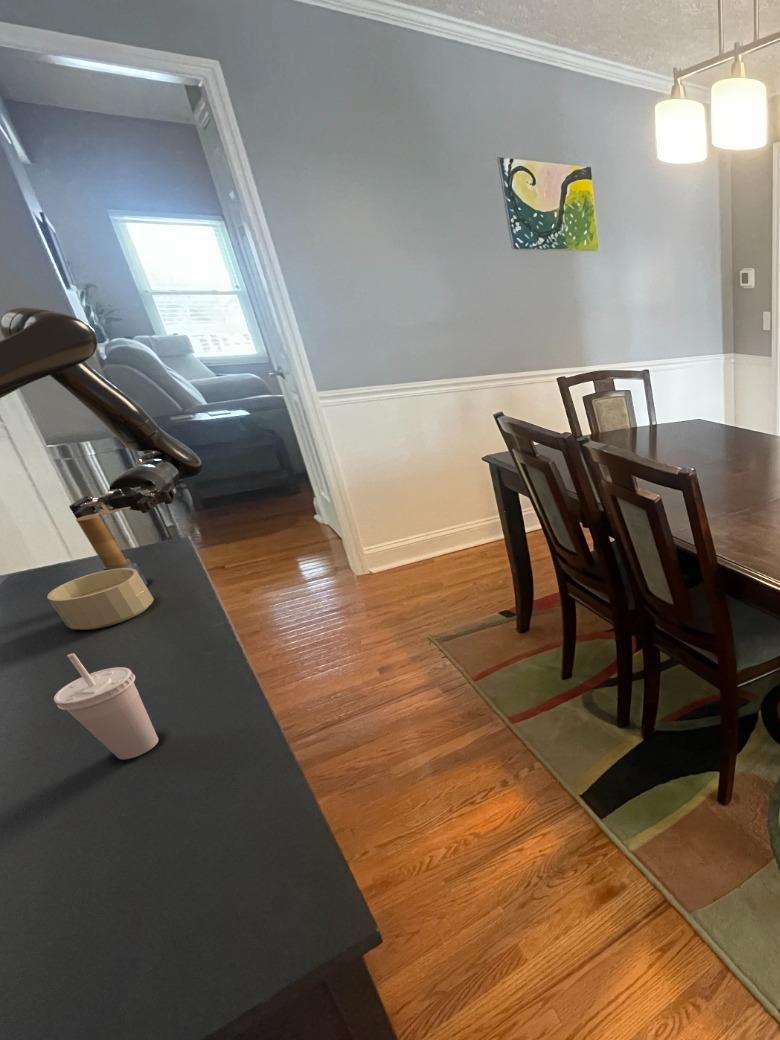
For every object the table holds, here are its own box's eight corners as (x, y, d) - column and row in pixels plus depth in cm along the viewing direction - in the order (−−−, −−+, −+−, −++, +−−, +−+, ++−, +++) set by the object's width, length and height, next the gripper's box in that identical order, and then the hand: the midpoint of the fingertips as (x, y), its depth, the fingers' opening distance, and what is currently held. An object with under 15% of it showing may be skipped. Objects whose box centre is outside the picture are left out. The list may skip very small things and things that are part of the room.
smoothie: (103, 777, 67) (27, 679, 61) (99, 750, 71) (28, 655, 64) (176, 745, 71) (113, 650, 65) (169, 721, 75) (108, 629, 69)
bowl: (50, 636, 94) (27, 604, 91) (100, 602, 103) (81, 572, 101) (127, 626, 96) (107, 594, 93) (169, 594, 105) (152, 564, 102)
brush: (106, 596, 105) (60, 524, 99) (125, 583, 109) (82, 513, 103) (136, 592, 106) (92, 520, 100) (153, 580, 110) (112, 510, 104)
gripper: (87, 475, 117) (47, 501, 104) (178, 462, 122) (151, 485, 110) (108, 511, 120) (71, 540, 107) (195, 496, 126) (171, 523, 113)
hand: (112, 512), depth 109 cm, fingers open, 8 cm apart
